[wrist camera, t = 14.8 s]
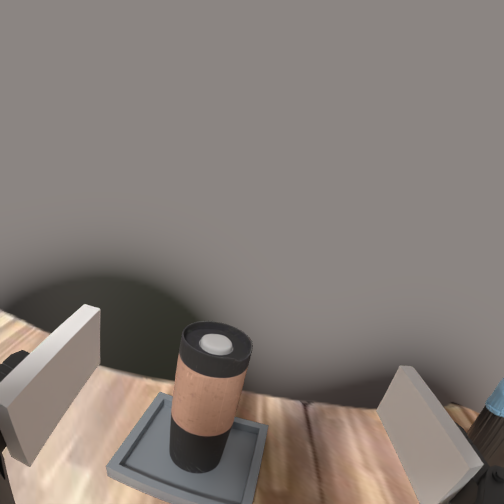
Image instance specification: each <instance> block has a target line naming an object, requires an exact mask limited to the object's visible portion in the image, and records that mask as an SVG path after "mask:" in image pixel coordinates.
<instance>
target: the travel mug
mask: <svg viewBox="0 0 504 504" xmlns="http://www.w3.org/2000/svg"><path fill="white" fill-rule="evenodd" d="M252 347H253V345H252V341H251V339H250V338H249V337H248V335H246V334H245V333H244V332H243V331H241V330H239V329H237V328H235V327H233V326H230V325H227V324H224V323H219V322H213V321H201V322H195V323H192V324H190V325H188V326H187V327H185V329H184V330H183V333H182V336H181V343H180V350H179V357H178V363H177V370H176V377H175V385H174V392H173V400H172V408H171V423H170V444H169V453H170V457H171V459H172V461H173V462H174V464H175V465H176V466H178V467H179V468H181V469H182V470H184V471H187V472H190V473H197V474H199V473H206V472H209V471H211V470H213V469H214V468H216V467H217V465H218V464H219V462H220V460H221V457H222V454H223V451H224V448H225V445H226V442H227V439H228V437H229V434H230V431H231V428H232V425H233V421H234V418H235V414H236V410H237V406H238V403H239V399H240V395H241V391H242V387H243V383H244V380H245V376H246V372H247V368H248V364H249V360H250V356H251V353H252Z"/></svg>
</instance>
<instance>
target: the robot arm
mask: <svg viewBox="0 0 504 504" xmlns="http://www.w3.org/2000/svg"><path fill="white" fill-rule="evenodd" d="M99 364H100V309H99V308H95V307H92V306H89V305H86V304H84V305H83V306H82V307H81V308H80V309H78V310H77V311H76V312H75V313H74V314H73V315H72V316H70V317H69V318H68V319H67V320H66V321H65V322H64V323H63V324H62V325H60V326H59V327H58V328H57V329H56V330H55V331H54V332H53V333H52V334H50V335H49V336H48V337H47V338H46V339H45V340H44V341H43V342H42V343H41V344H40V345H39V346H37V347H36V348H35V349H34V350H33V351H32V352H31V353H28V352H26V351H24V350H21V351H19V352H16V353H14V354H11V355H10V356H9V357H8V358H7V359H6V360H5V361H3V363H2V364H0V504H15V501H14V498H13V494H12V491H11V487H10V483H9V479H8V475H7V471H6V466H5V461H4V457H3V455H2V451H3V450H4V449H5V447H6V446H7V448H8V451H9V453H10V455H11V457H13V458H15V459H16V460H18V461H20V462H22V463H23V464H25V465H27V466H29V467H30V466H31V465H32V463H33V461H34V460H35V458H36V457H37V455H38V454H39V452H40V450H41V449H42V447H43V446H44V444H45V443H46V441H47V439H48V438H49V436H50V435H51V433H52V432H53V430H54V429H55V427H56V426H57V424H58V423H59V421H60V420H61V418H62V417H63V415H64V414H65V412H66V411H67V409H68V408H69V406H70V405H71V403H72V402H73V400H74V399H75V398H76V396H77V395H78V393H79V392H80V390H81V389H82V387H83V386H84V385H85V383H86V382H87V380H88V379H89V378H90V376H91V375H92V373H93V372H94V370H95V369H96V368H97V366H98V365H99ZM485 404H486V405H485V407H484V408H483V410H482V411H481V413H480V414H479V416H478V417H477V419H476V420H475V422H474V423H473V425H472V426H471V428H470V429H469V430H468V432H467V433H466V432H465V431H464V429H463V428H462V427H461V426H459V425H458V424H457V423H456V422H454V421H453V420H452V418H451V417H450V415H449V414H448V413H447V411H446V410H445V409H444V407H443V406H442V405H441V403H440V402H439V401H438V399H437V398H436V396H435V395H434V394H433V393H432V391H431V390H430V389H429V387H428V386H427V385H426V383H425V382H424V381H423V379H422V378H421V377H420V376H419V374H418V373H417V371H416V370H415V369H414V368H413V366H402V365H400V366H399V368H398V370H397V372H396V374H395V376H394V378H393V380H392V382H391V384H390V386H389V388H388V390H387V392H386V394H385V395H384V397H383V399H382V401H381V403H380V405H379V407H378V408H377V410H376V411H377V413H378V415H379V417H380V420H381V422H382V424H383V426H384V428H385V430H386V432H387V434H388V436H389V438H390V440H391V442H392V444H393V446H394V449H395V451H396V453H397V455H398V457H399V459H400V461H401V463H402V466H403V468H404V470H405V472H406V474H407V476H408V479H409V481H410V483H411V485H412V487H413V489H414V492H415V494H416V496H417V498H418V501H419V503H420V504H504V378H503V379H502V380H501V381H500V382H499V384H498V385H497V387H496V388H495V390H494V392H493V393H492V395H491V396H490V397H489V398H488V399H487V401H486V403H485Z"/></svg>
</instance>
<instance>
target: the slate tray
mask: <svg viewBox="0 0 504 504" xmlns="http://www.w3.org/2000/svg"><path fill="white" fill-rule="evenodd" d="M172 400H173V396H170V395H167V394H165V393H162V392H159V393H158V395H157V396H156V398H155V399H154V400H153V402H152V403H151V405H150V406H149V407H148V409H147V410H146V412H145V413H144V414H143V416H142V417H141V418H140V420H139V421H138V423H137V424H136V425H135V427H134V428H133V430H132V431H131V432H130V434H129V435H128V437H127V438H126V439H125V441H124V442H123V443H122V445H121V446H120V448H119V449H118V450H117V452H116V453H115V454H114V456H113V457H112V459H111V460H110V461H109V463H108V464H107V465H106V469H107V475H108V476H109V477H111V478H113V479H115V480H117V481H119V482H121V483H123V484H125V485H127V486H130V487H132V488H134V489H136V490H139V491H141V492H143V493H146V494H148V495H151V496H153V497H156V498H158V499H161V500H163V501H166V502H169V503H171V504H252V502H253V498H254V493H255V489H256V484H257V479H258V475H259V470H260V465H261V460H262V455H263V450H264V446H265V440H266V435H267V430H268V425H265V424H261V423H257V422H253V421H249V420H245V419H242V418H238V417H235V418H234V421H233V425H232V428H231V431H230V434H229V437H228V439H227V442H226V445H225V448H224V451H223V454H222V457H221V460H220V462H219V464H218V465H217V467H216V468H214V469H213V470H211V471H209V472H206V473H199V474H197V473H190V472H187V471H184V470H182V469H181V468H179V467H178V466H176V465H175V464H174V462H173V461H172V459H171V457H170V453H169V444H170V423H171V408H172Z"/></svg>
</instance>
